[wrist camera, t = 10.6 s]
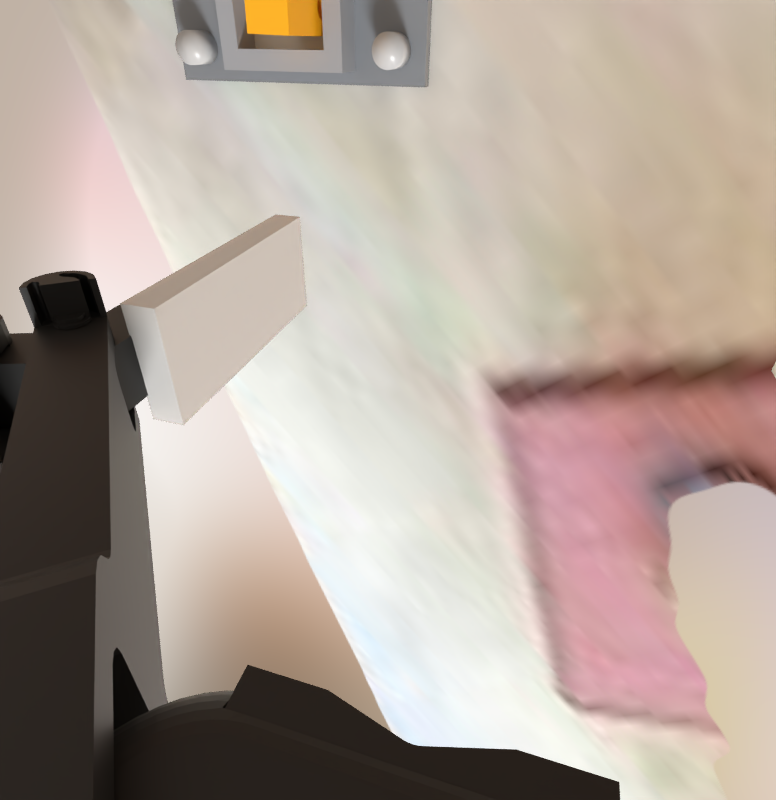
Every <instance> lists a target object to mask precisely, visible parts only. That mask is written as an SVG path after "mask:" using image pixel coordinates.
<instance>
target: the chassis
mask: <svg viewBox="0 0 776 800" xmlns="http://www.w3.org/2000/svg"><path fill="white" fill-rule="evenodd" d="M321 5H322V25H323V36H284V35H265V34H247V24H246V13H245V2H244V0H173V6H174V11H175V17H176V23H177V29H178V35H177V38H176V50H177V53H178V55H179V57H180V58H181V59H182V61H183V63H184V69H185V75H186V80H215V81H246V82H276V83H307V84H338V85H369V86H400V87H427V86H428V79H429V56H430V33H431V10H432V0H321Z"/></svg>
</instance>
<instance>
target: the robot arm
mask: <svg viewBox="0 0 776 800" xmlns="http://www.w3.org/2000/svg"><path fill="white" fill-rule="evenodd" d="M19 290H20V292H21V295H22V297H23V300H24V302H25V305H26V307H27V310H28V312H29V315H30V318H31V320H32V323H33V325H34V332H33V333H20V334H19V333H18V334H9V331H8V329H7V327H6V324H5V322H4V320H3V317H2V316H1V315H0V800H620V789H619V782H617V781H614V780H611V779H608V778H605V777H601V776H598V775H595V774H592V773H589V772H586V771H582V770H579V769H576V768H573V767H570V766H567V765H563V764H560V763H557V762H554V761H551V760H548V759H544V758H541V757H538V756H535V755H532V754H529V753H525V752H522V751H519V750H511V749H484V748H456V747H429V746H417V745H413V744H410V743H408V742H406V741H404V740H402V739H401V738H399V737H398V736H396V735H395V734H393V733H392V732H390V731H389V730H387V729H386V728H384V727H382V726H381V725H380V724H378V723H377V722H375V721H374V720H372V719H371V718H369V717H368V716H366V715H364V714H363V713H362V712H360V711H359V710H357V709H356V708H354V707H353V706H351V705H349V704H348V703H347V702H345V701H343V700H342V699H340V698H339V697H337V696H336V695H334V694H333V693H331V692H330V691H328V690H326V689H323V688H320V687H316V686H313V685H310V684H307V683H304V682H301V681H297V680H294V679H291V678H288V677H285V676H282V675H278V674H275V673H272V672H269V671H265V670H262V669H259V668H256V667H253V666H250V665H247V667H246V669H245V671H244V673H243V675H242V677H241V679H240V680H239V682H238V684H237V686H236V688H235V690H234V691H219V692H209V693H203V694H198V695H194V696H190V697H186V698H181V699H178V700H176V701H173V702H170V703H168V701H167V697H166V693H165V687H164V679H163V672H162V671H163V670H162V659H161V649H160V639H159V627H158V617H157V606H156V596H155V584H154V574H153V563H152V553H151V541H150V530H149V519H148V509H147V498H146V487H145V477H144V466H143V456H142V444H141V433H140V423H139V418H138V414H137V411H136V408H135V406H136V405H137V404H138V403H139V402H140V401H142V400H143V399H144V398H145V397H147V398H148V402H149V405H150V409H151V412H152V415H153V419H156V420H161V421H166V422H171V423H175V424H180V425H184V424H185V423H186V422H187V421H188V420H189V419H190V418H191V417H192V416H193V415H194V414H195V413H197V412H198V410H200V409H201V408H202V407H203V406H204V405H205V404H206V403H207V402H208V401H209V400H210V399H211V398H212V397H213V396H214V395H215V394H216V393H217V392H218V391H219V390H220V389H221V388H222V387H223V386H224V385H225V384H226V383H227V382H229V381H230V380H231V379H232V378H233V377H234V376H235V375H236V374H237V373H238V372H239V371H240V370H241V369H242V368H243V367H244V366H245V365H246V364H247V363H248V362H249V361H250V360H251V359H252V358H253V357H254V356H255V355H256V354H257V353H258V352H259V351H260V350H262V349H263V348H264V347H265V346H266V345H267V344H268V343H269V342H270V341H271V340H272V339H273V338H274V337H275V336H276V335H277V334H278V333H279V332H280V331H281V330H282V329H283V328H284V327H285V326H286V325H287V324H288V323H289V322H290V321H291V320H292V319H293V318H295V317H296V316H297V315H298V314H299V313H300V312H301V311H302V310H303V309H304V308H305V307H306V306H307V302H306V289H305V277H304V264H303V251H302V239H301V226H300V217H295V216H284V215H274V216H272V217H271V218H269V219H267V220H265V221H264V222H262V223H260V224H258V225H257V226H255V227H253V228H251V229H250V230H248V231H246V232H244V233H243V234H241V235H239V236H237V237H236V238H234V239H232V240H230V241H229V242H227V243H225V244H223V245H222V246H220V247H218V248H216V249H215V250H213V251H211V252H210V253H208V254H206V255H204V256H203V257H201V258H199V259H197V260H196V261H194V262H192V263H190V264H189V265H187V266H185V267H183V268H182V269H180V270H178V271H176V272H175V273H173V274H171V275H169V276H168V277H166V278H164V279H162V280H161V281H159V282H157V283H155V284H154V285H152V286H150V287H148V288H147V289H145V290H143V291H141V292H140V293H138V294H136V295H134V296H133V297H131V298H129V299H127V300H126V301H124V302H122V303H121V304H120V305H119V306H117V307H115V308H113V309H112V310H110V311H108V312H106V310H105V307H104V304H103V300H102V297H101V294H100V291H99V287H98V284H97V281H96V278H95V276H94V275H93V274H91V273H88V272H83V271H63V272H55V273H49V274H45V275H42V276H38V277H35V278H32V279H30V280H28V281H26V282H24V283H23V284H22V285H21V286H20V287H19ZM772 372H773V374H774V376H775V378H776V362H775V364H774V366H773V368H772Z"/></svg>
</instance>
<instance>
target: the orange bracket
mask: <svg viewBox="0 0 776 800" xmlns="http://www.w3.org/2000/svg"><path fill="white" fill-rule="evenodd" d="M244 2H245V13H246V24H247V34H265V35H284V36H323V25H322V5H321V0H244Z"/></svg>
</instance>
